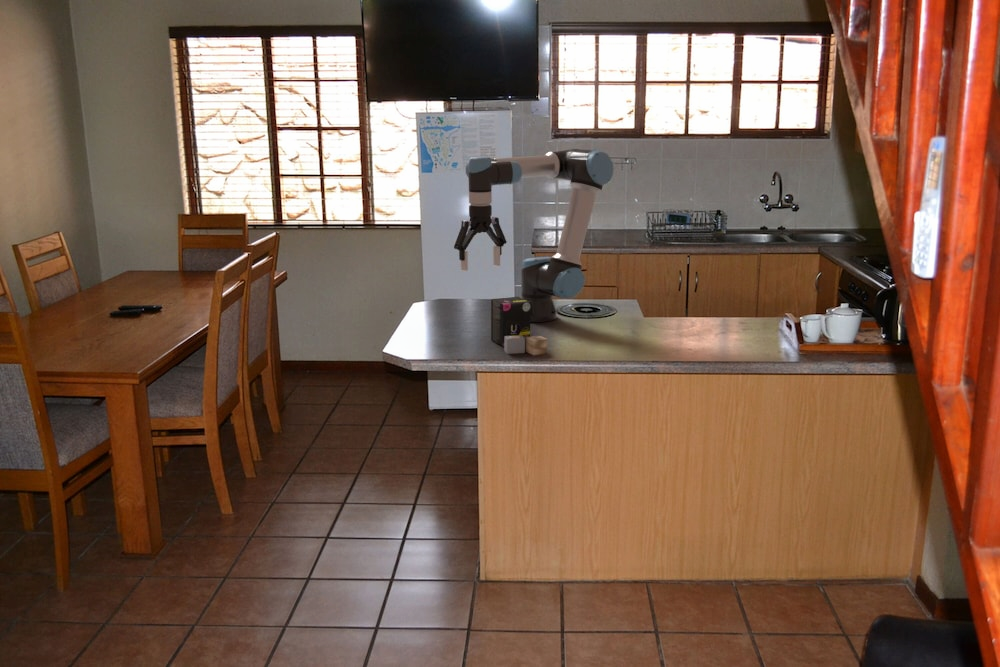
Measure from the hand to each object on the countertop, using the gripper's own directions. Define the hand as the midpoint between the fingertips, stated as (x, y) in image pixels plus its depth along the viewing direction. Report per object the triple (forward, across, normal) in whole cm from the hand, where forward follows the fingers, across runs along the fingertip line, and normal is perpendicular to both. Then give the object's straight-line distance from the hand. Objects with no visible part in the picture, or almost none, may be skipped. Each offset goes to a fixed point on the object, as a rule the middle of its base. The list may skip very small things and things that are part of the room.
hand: (480, 267), depth 301 cm
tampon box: (+26, -7, +8) cm, 28 cm away
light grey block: (+25, 0, +18) cm, 31 cm away
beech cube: (+25, -5, +23) cm, 35 cm away
